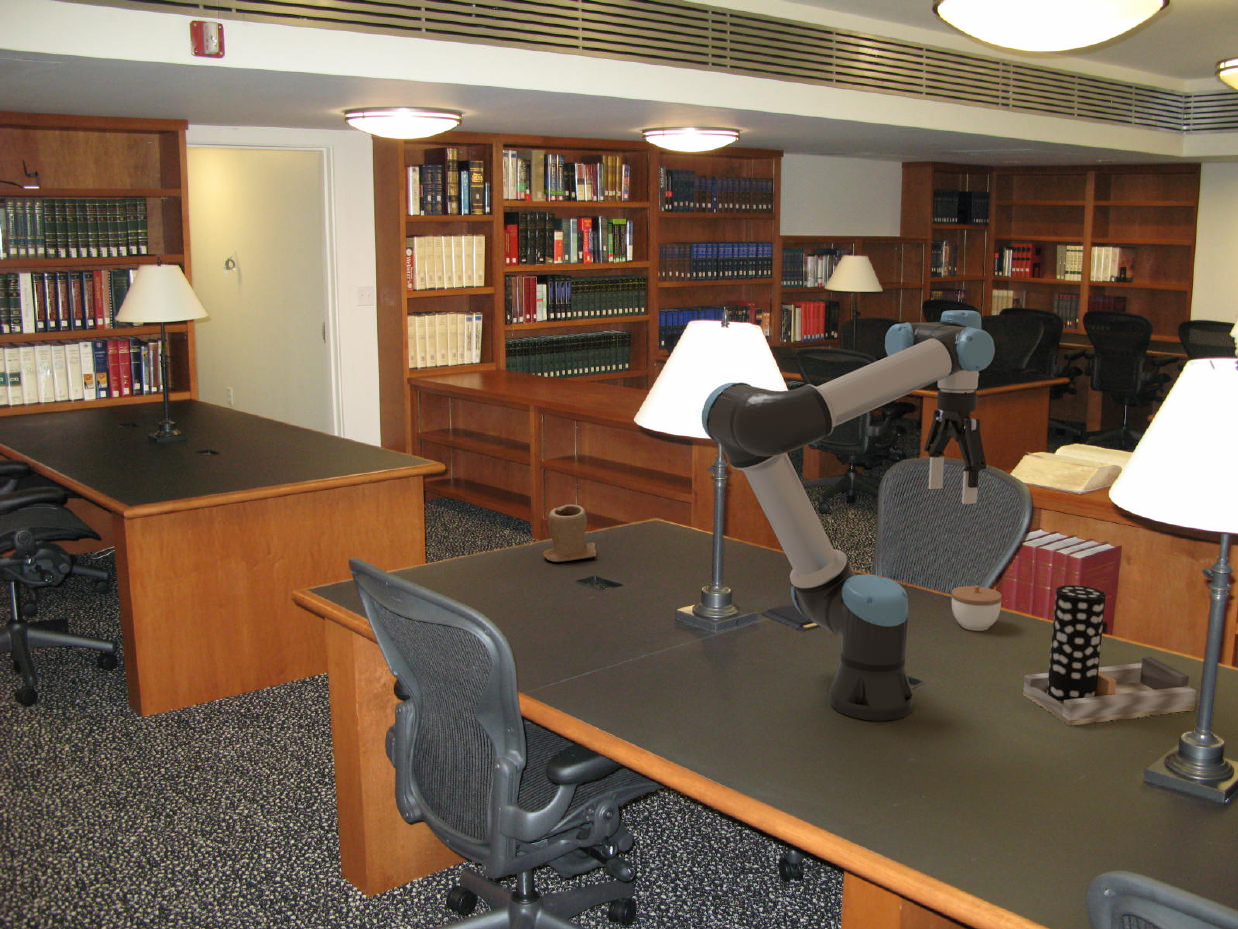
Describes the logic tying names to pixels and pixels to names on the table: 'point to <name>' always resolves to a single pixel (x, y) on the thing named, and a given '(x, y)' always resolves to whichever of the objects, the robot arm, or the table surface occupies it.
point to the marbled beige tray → (1120, 694)
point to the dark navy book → (790, 617)
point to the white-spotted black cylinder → (1076, 642)
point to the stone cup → (568, 534)
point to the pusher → (1105, 685)
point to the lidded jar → (976, 607)
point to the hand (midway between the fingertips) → (951, 495)
